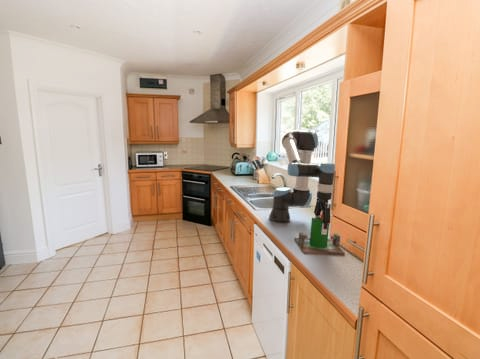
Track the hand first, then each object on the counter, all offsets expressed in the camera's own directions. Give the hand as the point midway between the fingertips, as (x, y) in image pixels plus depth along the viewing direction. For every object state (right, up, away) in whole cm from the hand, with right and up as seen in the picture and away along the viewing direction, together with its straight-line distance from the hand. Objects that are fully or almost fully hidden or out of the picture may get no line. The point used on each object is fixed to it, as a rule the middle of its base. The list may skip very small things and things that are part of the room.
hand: (320, 230), depth 143 cm
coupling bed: (-1, -10, +2) cm, 10 cm away
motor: (0, -8, +1) cm, 8 cm away
